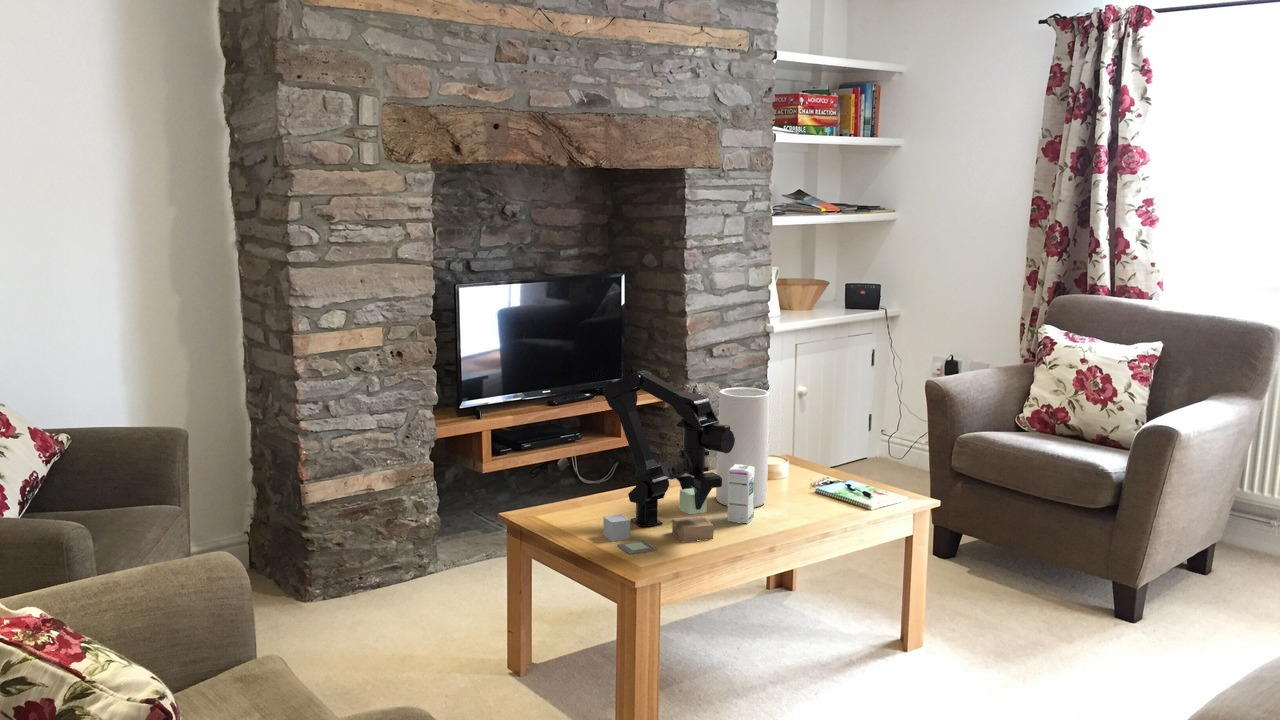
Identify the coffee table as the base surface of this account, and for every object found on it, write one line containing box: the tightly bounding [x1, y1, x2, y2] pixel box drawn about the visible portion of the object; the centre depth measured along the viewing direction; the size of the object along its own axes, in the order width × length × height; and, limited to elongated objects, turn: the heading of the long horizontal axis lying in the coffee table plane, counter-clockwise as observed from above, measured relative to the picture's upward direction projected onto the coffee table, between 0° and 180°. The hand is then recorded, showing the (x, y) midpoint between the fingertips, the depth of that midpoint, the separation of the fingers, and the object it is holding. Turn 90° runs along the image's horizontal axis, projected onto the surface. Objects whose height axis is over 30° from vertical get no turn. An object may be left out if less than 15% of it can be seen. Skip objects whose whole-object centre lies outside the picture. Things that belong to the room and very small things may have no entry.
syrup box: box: [727, 464, 755, 525], centre depth 273 cm, size 6×6×14 cm
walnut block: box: [671, 515, 715, 543], centre depth 261 cm, size 8×8×4 cm
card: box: [617, 539, 657, 555], centre depth 251 cm, size 7×7×1 cm
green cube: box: [679, 488, 708, 515], centre depth 260 cm, size 5×5×5 cm
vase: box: [715, 387, 770, 508], centre depth 288 cm, size 14×14×32 cm
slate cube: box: [602, 513, 631, 542], centre depth 259 cm, size 5×5×5 cm
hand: (692, 506), depth 260 cm, fingers closed on green cube, 5 cm apart
